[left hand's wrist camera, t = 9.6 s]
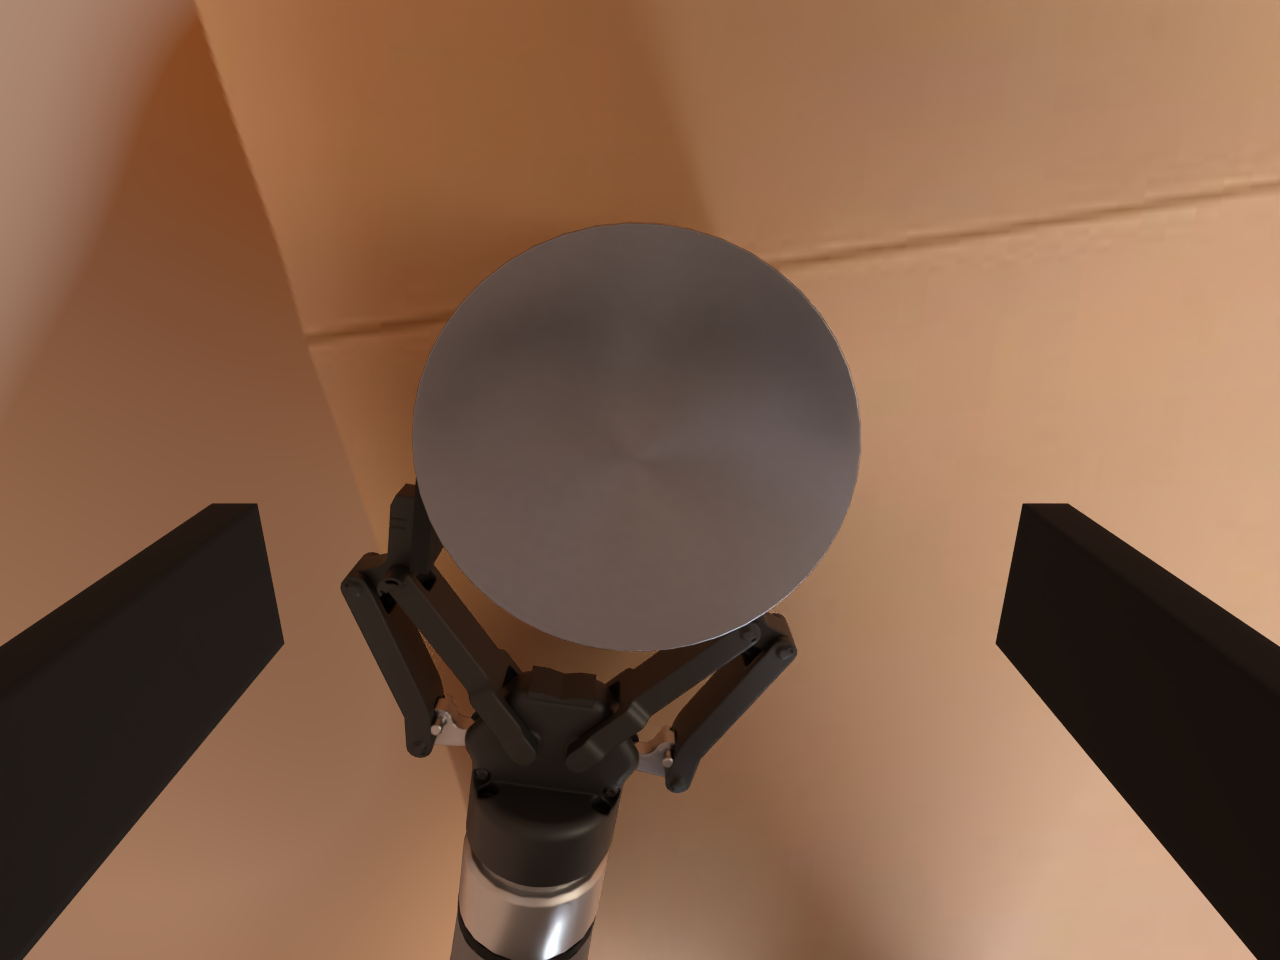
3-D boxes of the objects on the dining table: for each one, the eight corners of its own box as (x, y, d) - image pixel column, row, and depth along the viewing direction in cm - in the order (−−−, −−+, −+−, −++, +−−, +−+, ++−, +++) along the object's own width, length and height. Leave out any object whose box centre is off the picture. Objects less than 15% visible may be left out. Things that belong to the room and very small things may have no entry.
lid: (370, 518, 21) (347, 544, 19) (538, 133, 17) (527, 125, 16) (712, 675, 22) (718, 711, 21) (926, 354, 19) (952, 368, 17)
